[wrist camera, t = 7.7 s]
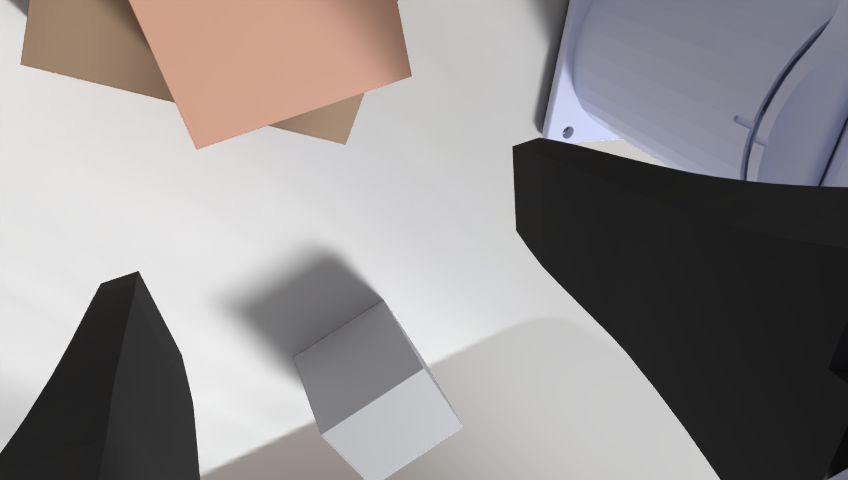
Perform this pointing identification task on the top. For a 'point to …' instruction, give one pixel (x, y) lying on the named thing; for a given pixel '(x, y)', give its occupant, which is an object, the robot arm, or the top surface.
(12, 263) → the top surface
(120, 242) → the top surface
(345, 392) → the grey cube
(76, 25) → the walnut block
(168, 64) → the terracotta cube
